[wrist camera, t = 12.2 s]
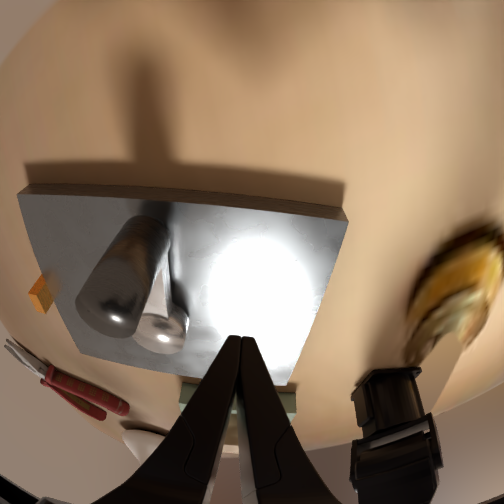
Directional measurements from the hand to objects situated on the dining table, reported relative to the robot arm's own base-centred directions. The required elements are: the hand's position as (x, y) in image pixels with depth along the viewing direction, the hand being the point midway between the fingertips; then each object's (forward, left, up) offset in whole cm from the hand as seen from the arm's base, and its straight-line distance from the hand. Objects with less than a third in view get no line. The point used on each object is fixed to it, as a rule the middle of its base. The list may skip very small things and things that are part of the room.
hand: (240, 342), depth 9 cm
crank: (+5, +4, -7) cm, 9 cm away
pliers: (+23, +28, -9) cm, 37 cm away
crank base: (+5, +7, -8) cm, 12 cm away
